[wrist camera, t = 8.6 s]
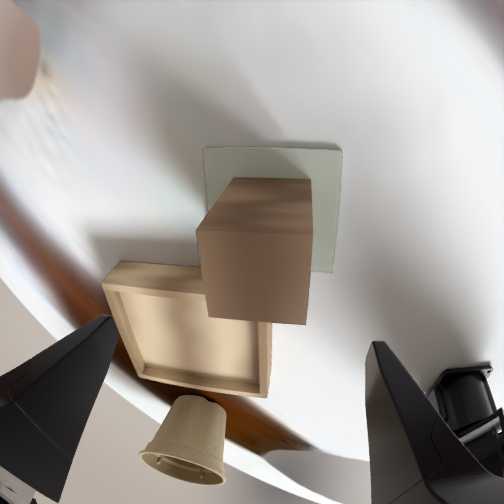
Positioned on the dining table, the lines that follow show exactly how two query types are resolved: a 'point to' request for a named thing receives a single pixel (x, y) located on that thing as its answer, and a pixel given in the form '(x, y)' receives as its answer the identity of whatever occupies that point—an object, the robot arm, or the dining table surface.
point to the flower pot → (190, 442)
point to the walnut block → (258, 251)
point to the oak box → (185, 332)
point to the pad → (285, 166)
